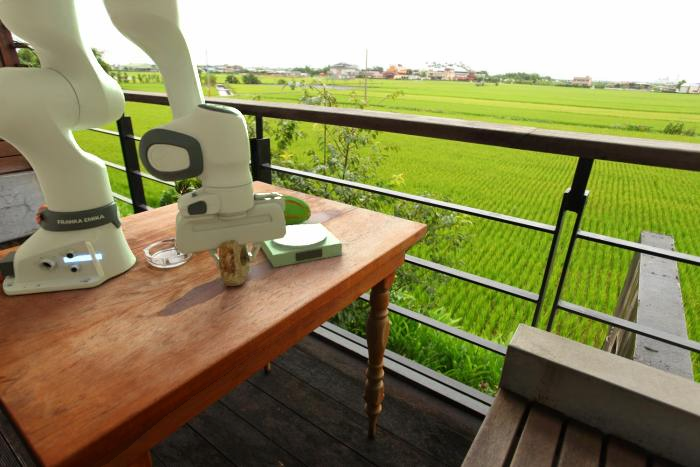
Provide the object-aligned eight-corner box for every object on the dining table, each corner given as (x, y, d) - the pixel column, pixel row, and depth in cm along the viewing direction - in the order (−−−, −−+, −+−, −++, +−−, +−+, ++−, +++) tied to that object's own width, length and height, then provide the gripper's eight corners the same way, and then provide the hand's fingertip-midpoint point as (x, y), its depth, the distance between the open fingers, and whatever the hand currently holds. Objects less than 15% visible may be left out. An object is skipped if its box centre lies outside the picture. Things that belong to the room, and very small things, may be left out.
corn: (301, 202, 100) (241, 192, 109) (301, 230, 103) (242, 218, 111) (316, 197, 107) (258, 187, 115) (316, 223, 109) (259, 212, 117)
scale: (274, 268, 83) (273, 252, 81) (259, 243, 95) (257, 229, 93) (342, 255, 89) (342, 240, 88) (320, 233, 101) (319, 220, 100)
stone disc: (239, 295, 73) (233, 246, 69) (219, 294, 73) (213, 245, 69) (254, 269, 82) (250, 225, 78) (236, 268, 82) (232, 225, 79)
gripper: (279, 187, 78) (283, 249, 83) (168, 198, 70) (180, 267, 75) (289, 195, 72) (292, 261, 78) (170, 208, 64) (182, 282, 70)
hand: (236, 264), depth 76 cm, fingers closed on stone disc, 4 cm apart
